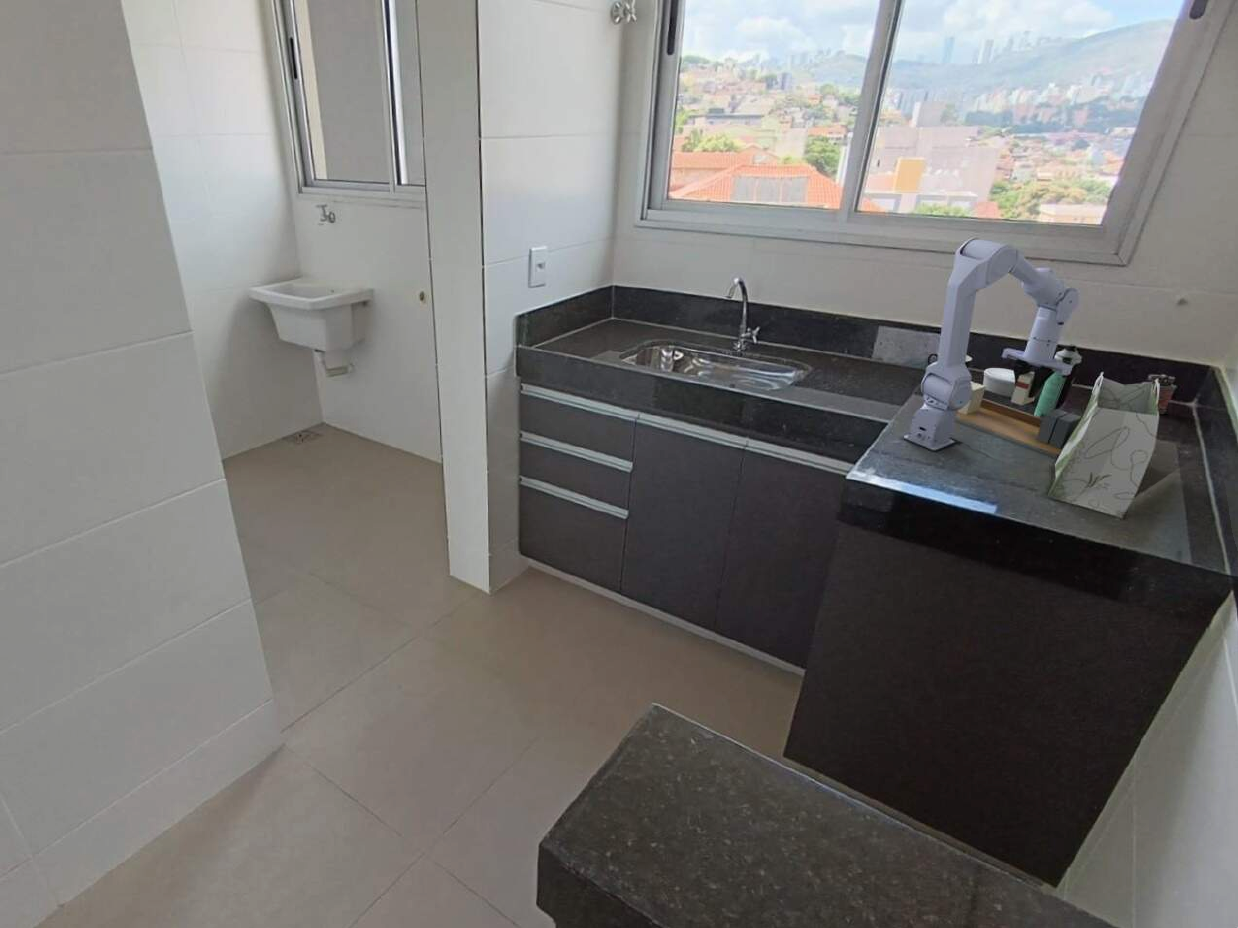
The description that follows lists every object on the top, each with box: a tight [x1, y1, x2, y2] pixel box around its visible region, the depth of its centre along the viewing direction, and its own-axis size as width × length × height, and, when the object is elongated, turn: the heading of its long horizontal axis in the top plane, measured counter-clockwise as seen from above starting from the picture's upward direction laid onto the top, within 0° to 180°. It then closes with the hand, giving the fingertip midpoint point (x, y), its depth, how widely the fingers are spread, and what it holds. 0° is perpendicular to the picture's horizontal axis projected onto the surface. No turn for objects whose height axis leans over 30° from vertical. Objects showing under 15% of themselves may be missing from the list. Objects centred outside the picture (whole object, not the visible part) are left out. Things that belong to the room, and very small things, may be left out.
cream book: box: [1010, 371, 1036, 406], centre depth 158 cm, size 6×3×6 cm, turn 126°
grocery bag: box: [1046, 371, 1160, 519], centre depth 137 cm, size 32×14×23 cm, turn 144°
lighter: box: [1141, 374, 1177, 415], centre depth 178 cm, size 8×3×10 cm, turn 84°
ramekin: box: [982, 367, 1015, 399], centre depth 186 cm, size 11×11×5 cm
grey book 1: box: [1036, 409, 1069, 444], centre depth 156 cm, size 6×3×6 cm, turn 126°
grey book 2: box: [1049, 412, 1083, 448], centre depth 154 cm, size 6×3×6 cm, turn 126°
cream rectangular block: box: [958, 382, 986, 415], centre depth 169 cm, size 6×3×6 cm, turn 126°
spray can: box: [1033, 344, 1083, 418], centre depth 165 cm, size 6×6×20 cm
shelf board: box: [956, 397, 1064, 456], centre depth 164 cm, size 14×31×3 cm, turn 36°
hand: (1024, 395), depth 159 cm, fingers closed on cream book, 2 cm apart
